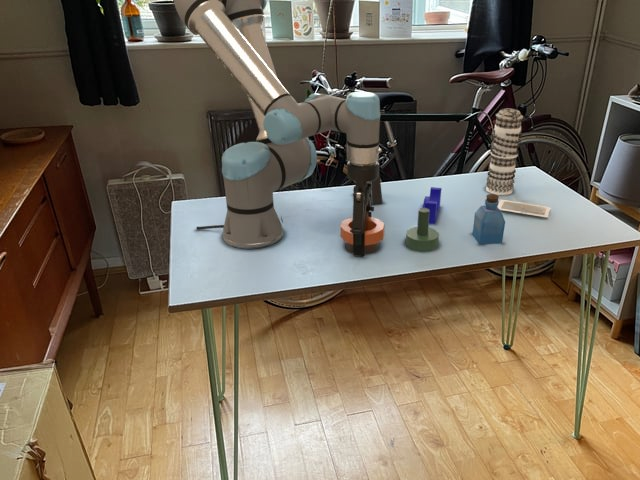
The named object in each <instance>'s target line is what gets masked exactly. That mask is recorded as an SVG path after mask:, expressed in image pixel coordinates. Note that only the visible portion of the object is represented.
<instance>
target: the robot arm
mask: <svg viewBox="0 0 640 480" xmlns="http://www.w3.org/2000/svg"><path fill="white" fill-rule="evenodd" d="M267 2H268V1H267V0H173V3H174V6H175V10H176V12H177V14H178V16H179V18H180V20H181V21H182V23H183V24H184V26H185V27H186V28H187V29H188V30H189V32H190V33H191V34H193V35H195V36H199V37H200V38H201V39H202V41H203V42H204V43H205V45H206V46H207V47H208V48H209V49H210V51H211V52H212V53H213V55H214V56H215V57H216V58H217V59H218V60H219V62H220V63H221V64H222V65H223V67H224V68H225V69H226V70H227V71H228V73H229V74H230V75H231V77H232V78H233V79H234V80H235V82H236V83H237V84H238V85H239V87H240V88H241V89H242V90H243V91H244V92H245V94H246V95H247V98H248V101H249V104H250V107H251V110H252V114H253V116H254V119H255V122H256V125H257V128H258V135H257V137H256V139H255V141H247V142H240V143H237V144H234V145H232V146H231V147H228V148H227V149H226V150H225V151H223V154H222V156H221V175H222V178H223V185H224V193H225V202H226V214H225V219H224V224H218V225H217V224H216V225H215V224H214V225H205V226H203V225H202V226H196V230H209V229H211V230H212V229H222V237H223V241H224V242H225V244H227V245H229V246H231V247H234V248H238V249H247V250H248V249H249V250H250V249H251V250H252V249H261V248H266V247H269V246H272V245H275V244H276V243H278V242H279V241H280V240H282V238H283V236H284V230H283V224H284V222H283V221H284V220H283V217H282V216H280V217H279V216H278V214H277V211H276V208H275V204H274V192H276V191H277V192H278V191H279V190H282V189H284V188H287V187H289V186H292V185H294V184H298V183H301V182H302V181H304V180H305V179H307V178H309V177H310V176H312V174H313V173H314V171H315V168H316V167H317V163H318V154H317V149H316V147H315V144H314V142H313V141H312V140H311V139H310V137H313V136H315V135H316V136H317V135H319V134H323V133H326V132H328V131H333V132H338V133H342V134H346V160H347V162H346V167H347V168H346V176H347V178H348V179H349V180H351V181H353V182H355V185H354V186H353V190H352V191H353V193H352V195H353V197H352V199H353V200H352V201H353V203H352V217H353V220H352V230H350V232H352V233H353V252H352V255H353V256H355V257H365V255H366V254H365V231H364V222H365V211H368V217H372V212H374V211H375V206H374V204H373V203H372V182H371V181H374V180H376V179H377V178H378V176H379V163H380V162H379V163H378V162H377V161H378V160H379V159H380V154H381V153H382V152H383V151H382V148H379V147H380V127H381V126H380V125H381V114H382V113H381V105H380V104H381V102H380V98H379V96H378V94H376V93H374V92H370V91H354V92H353V91H352V92H350V93H349V94H347V96H346V98H343V97H337V96H334V95H330V94H326V93H311V94H310V95H309V96H308V97H307V98H305V100H304V101H303V102H299V103H298V102H297V100H296V99H295V98H294V97H293V96H292V94H291V93H290V92H289V91H288V90H287V89H286V88H285V86H284V85H283V84H282V82H281V81H280V80H279V79H278V76H277V72H276V69H275V65H274V62H273V59H272V57H271V53H270V51H269V47H268V44H267V40H266V37H265V34H264V31H263V28H262V27H263V26H262V24H263V22H264V20H265V18H266V16H265V13H264V10H265V8H266V6H267ZM379 161H380V160H379Z"/></svg>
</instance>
